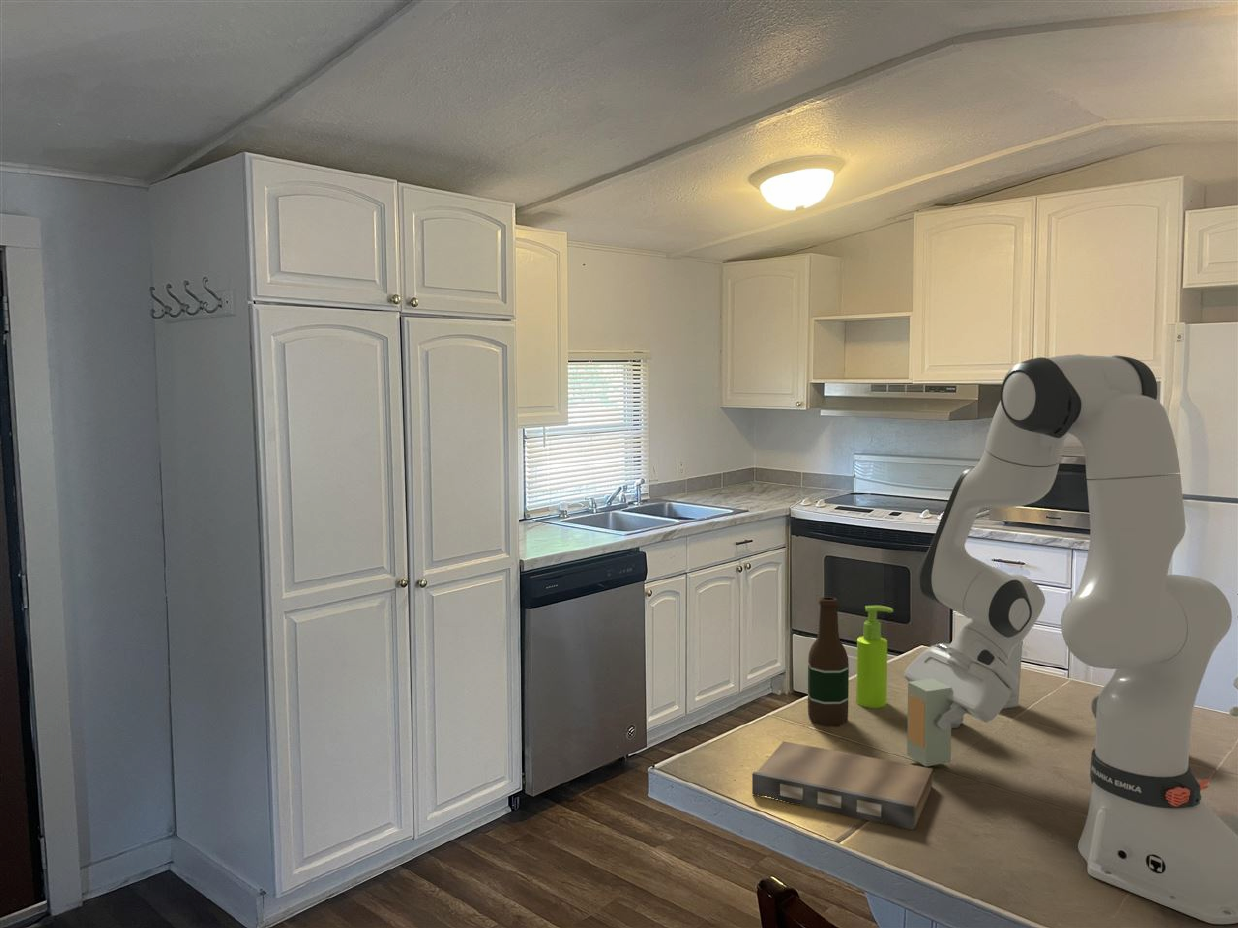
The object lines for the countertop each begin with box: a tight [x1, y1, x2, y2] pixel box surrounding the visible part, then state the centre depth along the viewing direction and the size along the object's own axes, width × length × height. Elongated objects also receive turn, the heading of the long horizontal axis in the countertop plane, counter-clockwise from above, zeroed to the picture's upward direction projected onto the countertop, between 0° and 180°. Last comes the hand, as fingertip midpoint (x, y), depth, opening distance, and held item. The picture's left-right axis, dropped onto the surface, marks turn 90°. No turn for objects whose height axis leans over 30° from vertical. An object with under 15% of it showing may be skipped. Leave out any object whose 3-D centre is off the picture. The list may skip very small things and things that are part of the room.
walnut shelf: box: [751, 741, 933, 831], centre depth 146 cm, size 25×16×4 cm, turn 62°
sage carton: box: [906, 678, 952, 767], centre depth 155 cm, size 5×5×13 cm
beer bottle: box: [807, 596, 850, 727], centre depth 175 cm, size 8×8×24 cm
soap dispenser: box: [855, 605, 894, 709], centre depth 184 cm, size 6×7×20 cm
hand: (926, 719), depth 155 cm, fingers closed on sage carton, 5 cm apart
